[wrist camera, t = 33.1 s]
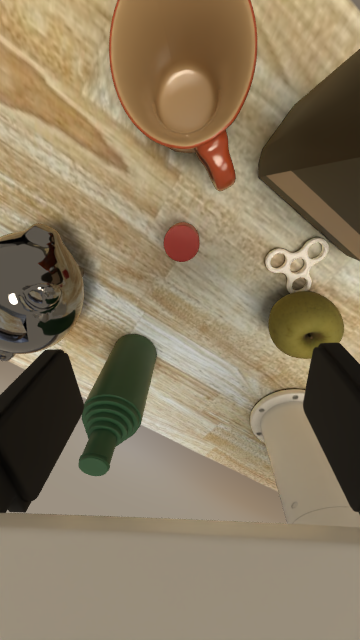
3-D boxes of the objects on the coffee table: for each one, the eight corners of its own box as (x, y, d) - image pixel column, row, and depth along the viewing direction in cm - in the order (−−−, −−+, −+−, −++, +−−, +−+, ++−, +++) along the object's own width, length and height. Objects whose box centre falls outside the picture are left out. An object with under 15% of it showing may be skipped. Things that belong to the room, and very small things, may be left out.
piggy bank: (115, 242, 30) (74, 269, 20) (82, 337, 37) (38, 393, 26) (22, 197, 28) (-75, 201, 18) (5, 305, 35) (-74, 352, 25)
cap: (187, 214, 28) (187, 217, 26) (205, 244, 30) (206, 249, 27) (159, 234, 29) (156, 238, 27) (178, 262, 31) (176, 268, 28)
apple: (278, 273, 30) (299, 299, 24) (337, 291, 31) (372, 322, 25) (251, 323, 34) (263, 357, 28) (304, 339, 35) (327, 375, 29)
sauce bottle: (159, 368, 39) (134, 489, 23) (118, 369, 39) (68, 488, 24) (154, 333, 36) (122, 443, 20) (110, 334, 36) (46, 443, 21)
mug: (124, 83, 23) (78, 16, 14) (210, 18, 21) (221, -111, 12) (182, 209, 28) (176, 218, 19) (258, 166, 26) (292, 154, 17)
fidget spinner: (303, 296, 32) (305, 298, 31) (254, 284, 31) (256, 286, 31) (331, 240, 28) (334, 241, 28) (277, 226, 28) (279, 227, 27)
